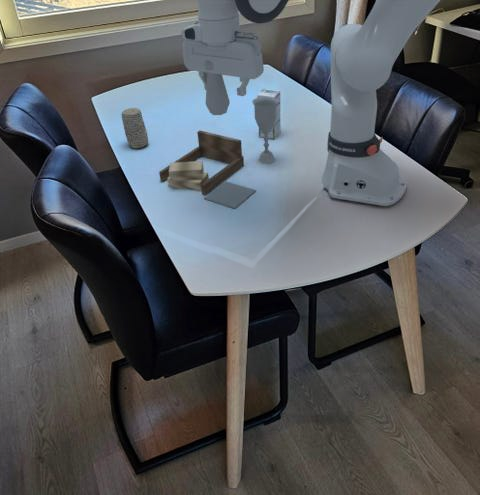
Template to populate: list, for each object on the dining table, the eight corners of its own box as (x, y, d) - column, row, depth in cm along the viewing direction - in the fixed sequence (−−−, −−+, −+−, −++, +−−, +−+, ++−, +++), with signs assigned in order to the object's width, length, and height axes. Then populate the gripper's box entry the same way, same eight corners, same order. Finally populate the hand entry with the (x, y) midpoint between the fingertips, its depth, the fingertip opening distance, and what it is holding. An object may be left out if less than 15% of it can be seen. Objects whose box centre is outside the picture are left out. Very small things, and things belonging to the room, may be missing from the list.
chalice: (283, 157, 145) (282, 99, 134) (271, 167, 141) (270, 107, 130) (262, 152, 149) (260, 95, 138) (250, 161, 144) (247, 103, 133)
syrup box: (281, 133, 159) (281, 89, 150) (274, 140, 155) (274, 96, 146) (265, 130, 161) (264, 87, 152) (258, 138, 157) (256, 94, 148)
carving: (135, 140, 161) (128, 105, 154) (153, 144, 158) (147, 108, 151) (123, 148, 157) (115, 112, 150) (141, 152, 154) (134, 116, 146)
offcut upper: (203, 170, 136) (202, 160, 135) (202, 179, 132) (201, 169, 131) (172, 172, 137) (170, 162, 135) (170, 181, 133) (168, 171, 131)
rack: (244, 165, 143) (242, 140, 138) (205, 195, 130) (202, 168, 126) (201, 154, 150) (198, 130, 145) (160, 181, 138) (156, 155, 133)
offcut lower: (209, 182, 137) (208, 172, 135) (201, 192, 133) (200, 182, 131) (177, 178, 140) (176, 168, 138) (168, 187, 136) (167, 178, 134)
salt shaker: (227, 116, 116) (222, 61, 108) (204, 116, 117) (197, 61, 109) (232, 107, 120) (227, 53, 112) (210, 107, 121) (203, 54, 114)
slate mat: (255, 191, 130) (255, 190, 130) (235, 209, 124) (234, 207, 124) (225, 182, 135) (225, 181, 135) (204, 199, 129) (204, 197, 129)
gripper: (267, 30, 103) (269, 94, 111) (192, 23, 113) (199, 82, 121) (251, 37, 99) (255, 103, 107) (175, 30, 109) (183, 91, 117)
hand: (225, 92), depth 114 cm, fingers open, 8 cm apart
